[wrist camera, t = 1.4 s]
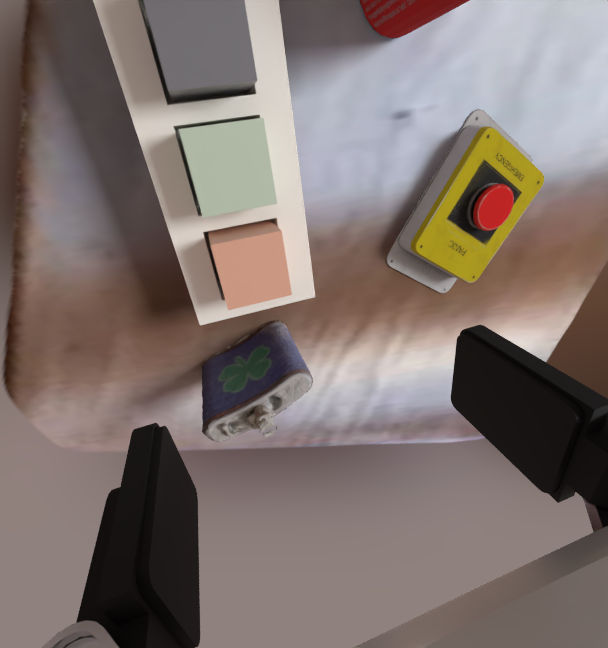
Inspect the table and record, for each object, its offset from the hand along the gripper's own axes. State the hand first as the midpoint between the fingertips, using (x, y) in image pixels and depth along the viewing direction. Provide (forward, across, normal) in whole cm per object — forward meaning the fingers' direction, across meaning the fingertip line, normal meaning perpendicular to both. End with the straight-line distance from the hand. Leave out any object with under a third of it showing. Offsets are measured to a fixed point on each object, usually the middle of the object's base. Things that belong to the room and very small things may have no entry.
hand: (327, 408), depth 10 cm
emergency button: (+21, -21, +1) cm, 30 cm away
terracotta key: (+17, 0, 0) cm, 17 cm away
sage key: (+17, 0, -6) cm, 18 cm away
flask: (+21, +2, +10) cm, 23 cm away
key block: (+21, 0, -6) cm, 22 cm away
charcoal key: (+17, 0, -12) cm, 21 cm away
